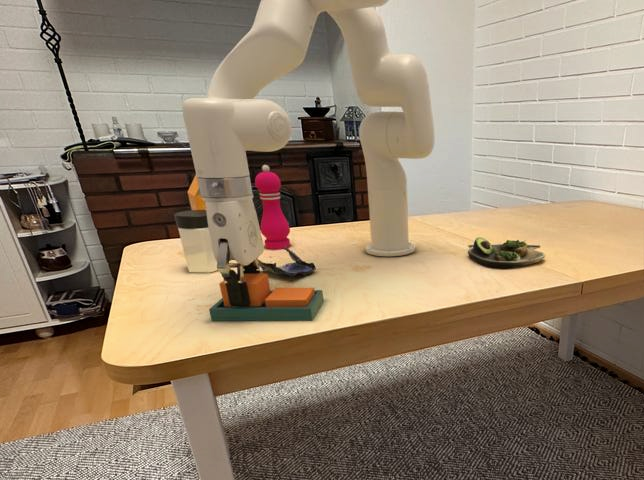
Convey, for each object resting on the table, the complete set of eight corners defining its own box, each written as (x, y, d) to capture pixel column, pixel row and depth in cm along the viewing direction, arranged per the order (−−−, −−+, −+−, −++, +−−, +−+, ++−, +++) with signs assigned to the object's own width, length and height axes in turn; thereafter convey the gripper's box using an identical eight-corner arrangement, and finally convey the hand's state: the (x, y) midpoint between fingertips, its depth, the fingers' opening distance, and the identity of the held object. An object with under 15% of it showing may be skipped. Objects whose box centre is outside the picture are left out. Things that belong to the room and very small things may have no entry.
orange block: (237, 295, 84) (232, 273, 82) (271, 295, 84) (267, 273, 82) (224, 306, 78) (219, 283, 76) (260, 306, 79) (256, 283, 77)
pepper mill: (282, 242, 128) (270, 163, 119) (297, 246, 124) (286, 164, 115) (258, 246, 123) (243, 164, 114) (273, 251, 119) (259, 166, 110)
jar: (230, 270, 104) (218, 214, 98) (189, 275, 100) (174, 217, 95) (225, 260, 111) (214, 208, 105) (186, 265, 107) (173, 211, 102)
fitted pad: (278, 300, 85) (276, 287, 84) (315, 300, 85) (314, 287, 84) (267, 314, 79) (264, 300, 78) (307, 313, 79) (305, 299, 78)
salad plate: (521, 245, 126) (522, 228, 124) (563, 262, 112) (565, 242, 110) (457, 253, 118) (457, 235, 116) (494, 271, 104) (495, 251, 102)
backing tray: (233, 301, 86) (230, 290, 85) (323, 300, 87) (322, 289, 86) (211, 321, 78) (208, 309, 77) (312, 320, 78) (310, 308, 77)
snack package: (299, 263, 109) (248, 271, 102) (298, 237, 106) (245, 243, 99) (323, 284, 102) (271, 294, 95) (323, 256, 99) (269, 264, 92)
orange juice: (208, 259, 112) (187, 169, 102) (200, 251, 118) (180, 166, 109) (242, 254, 116) (225, 167, 107) (233, 247, 122) (216, 165, 113)
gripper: (229, 196, 65) (252, 316, 73) (267, 182, 81) (283, 283, 89) (174, 196, 65) (204, 317, 73) (223, 182, 80) (243, 283, 88)
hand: (247, 297), depth 81 cm, fingers closed on orange block, 6 cm apart
